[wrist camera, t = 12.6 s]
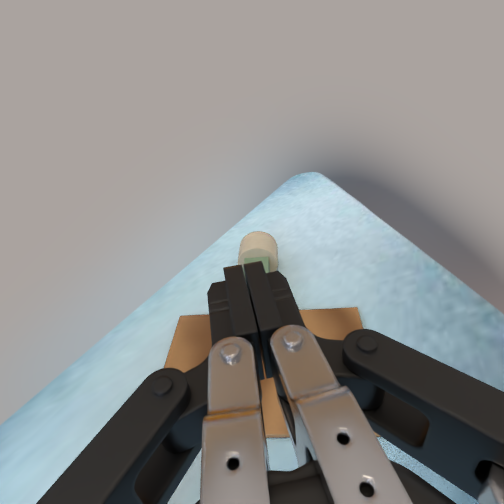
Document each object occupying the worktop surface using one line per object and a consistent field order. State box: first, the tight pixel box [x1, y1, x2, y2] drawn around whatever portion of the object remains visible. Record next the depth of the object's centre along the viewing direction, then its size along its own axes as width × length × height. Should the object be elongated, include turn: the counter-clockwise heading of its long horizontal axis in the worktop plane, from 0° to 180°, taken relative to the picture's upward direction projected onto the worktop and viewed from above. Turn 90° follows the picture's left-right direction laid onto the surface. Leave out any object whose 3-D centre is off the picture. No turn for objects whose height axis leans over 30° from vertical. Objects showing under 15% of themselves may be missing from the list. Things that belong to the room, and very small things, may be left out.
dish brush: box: [238, 231, 278, 276], centre depth 40 cm, size 5×5×16 cm
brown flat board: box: [164, 307, 381, 438], centre depth 34 cm, size 20×14×1 cm
